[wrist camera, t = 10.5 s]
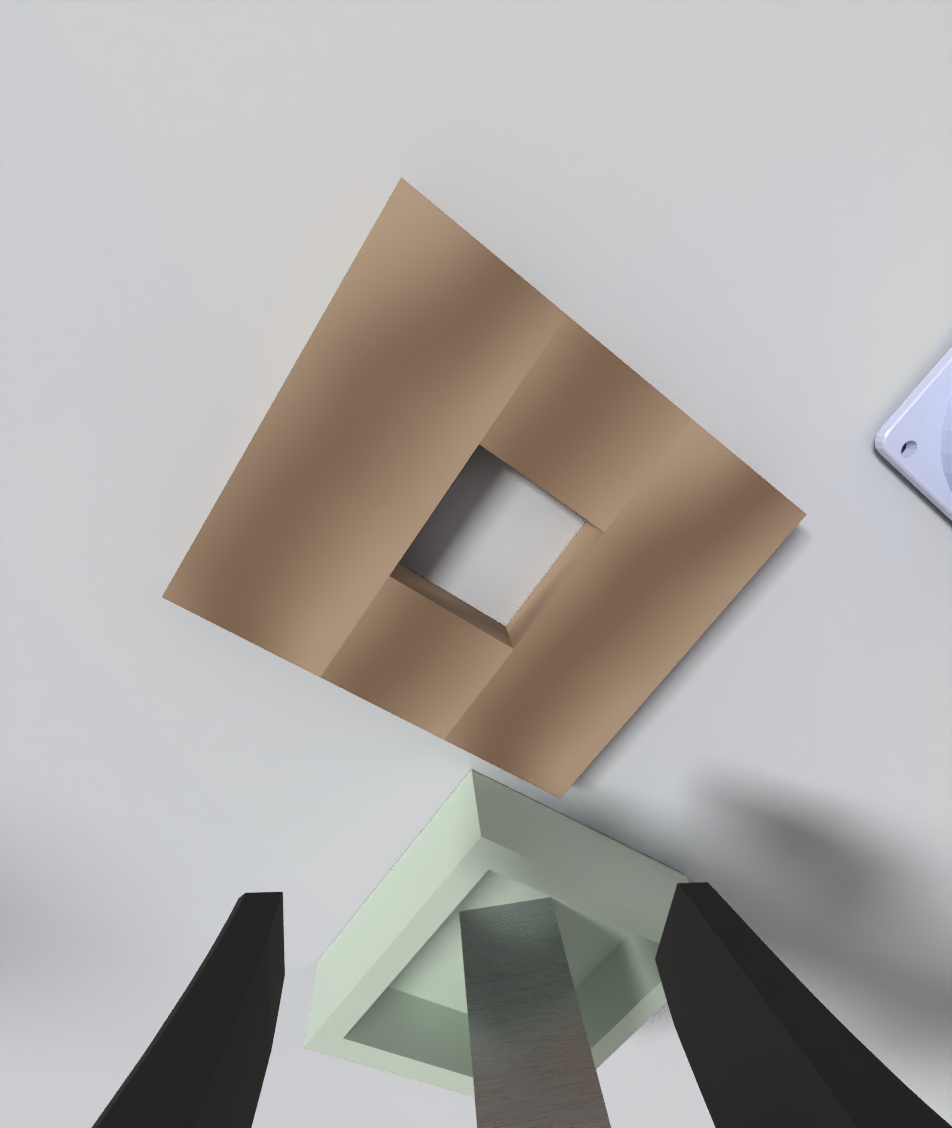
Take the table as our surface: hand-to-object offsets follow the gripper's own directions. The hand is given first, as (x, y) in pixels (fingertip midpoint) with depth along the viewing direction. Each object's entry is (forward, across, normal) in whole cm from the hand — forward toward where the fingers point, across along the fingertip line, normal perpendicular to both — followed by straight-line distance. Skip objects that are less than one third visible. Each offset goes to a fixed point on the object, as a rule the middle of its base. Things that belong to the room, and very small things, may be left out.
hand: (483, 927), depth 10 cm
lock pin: (+8, -3, +12) cm, 14 cm away
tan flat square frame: (+9, -1, -5) cm, 10 cm away
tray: (+9, -3, +12) cm, 15 cm away
